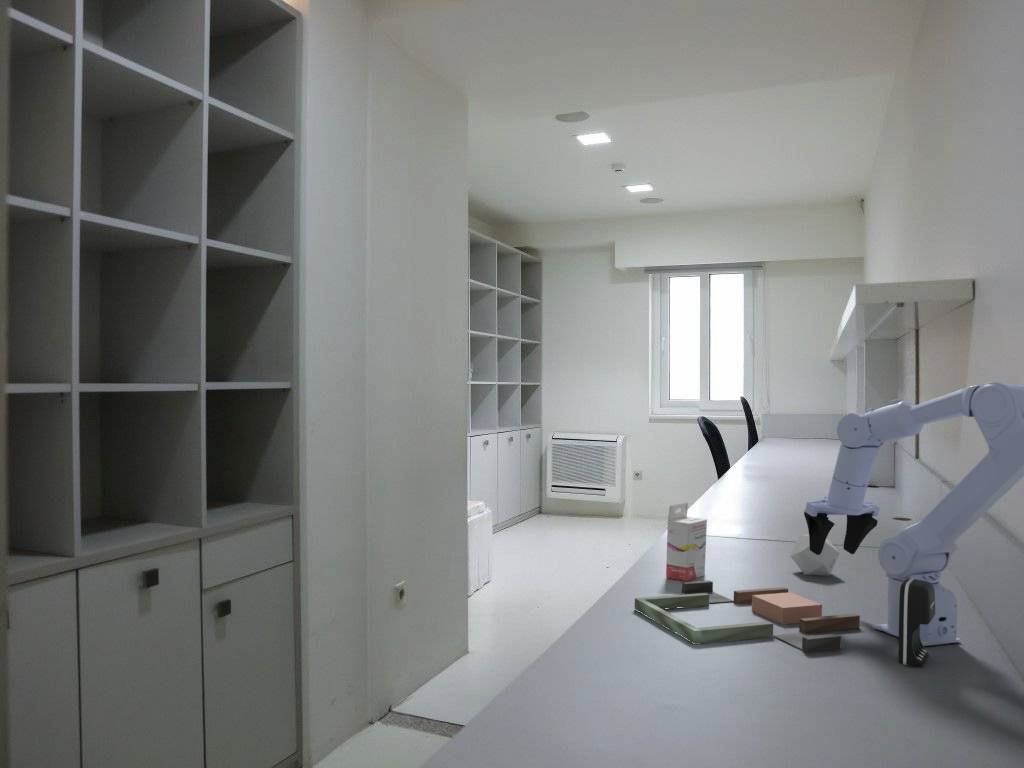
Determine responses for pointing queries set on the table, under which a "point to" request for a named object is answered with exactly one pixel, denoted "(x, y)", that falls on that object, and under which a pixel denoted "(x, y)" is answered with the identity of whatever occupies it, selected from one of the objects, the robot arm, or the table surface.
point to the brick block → (785, 607)
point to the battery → (914, 620)
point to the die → (814, 557)
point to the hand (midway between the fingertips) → (831, 552)
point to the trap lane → (704, 595)
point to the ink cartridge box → (685, 545)
